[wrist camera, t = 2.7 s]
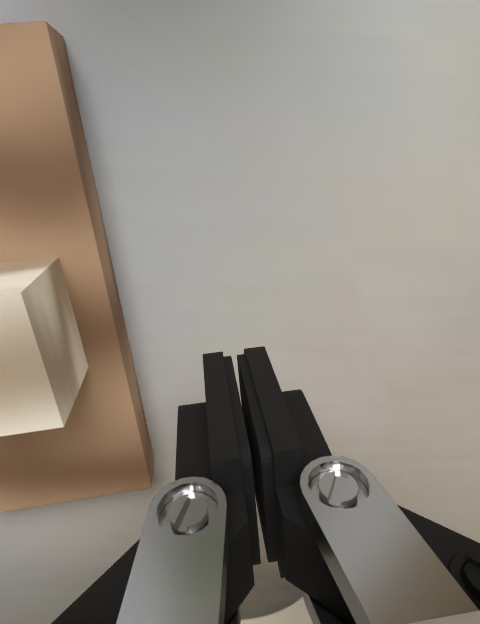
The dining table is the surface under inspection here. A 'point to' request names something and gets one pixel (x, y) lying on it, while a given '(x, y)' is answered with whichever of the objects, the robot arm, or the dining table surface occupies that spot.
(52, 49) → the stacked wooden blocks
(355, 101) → the dining table surface
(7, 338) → the block
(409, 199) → the dining table surface
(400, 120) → the dining table surface
